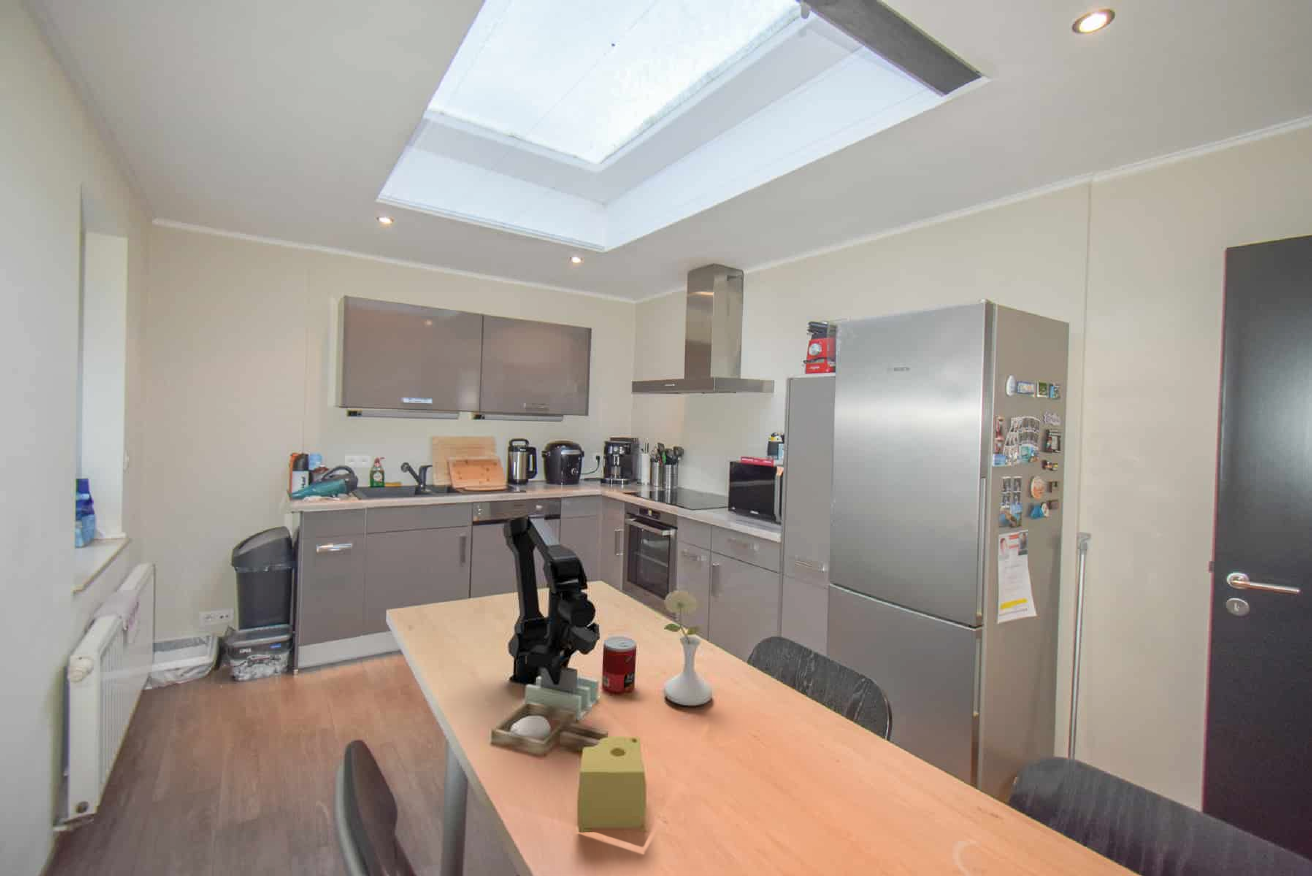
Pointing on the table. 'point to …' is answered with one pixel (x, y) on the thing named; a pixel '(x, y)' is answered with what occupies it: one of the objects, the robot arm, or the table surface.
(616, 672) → the canned food
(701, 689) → the flower in vase
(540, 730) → the garlic
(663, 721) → the table surface
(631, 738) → the cheese
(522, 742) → the garlic trivet frame
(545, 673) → the plate
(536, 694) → the dish rack
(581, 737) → the plate stand
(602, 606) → the table surface
